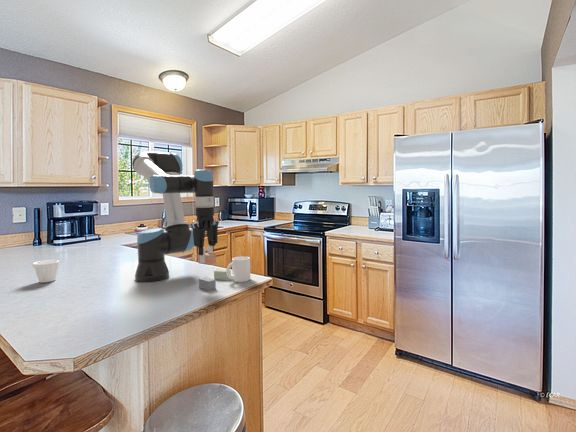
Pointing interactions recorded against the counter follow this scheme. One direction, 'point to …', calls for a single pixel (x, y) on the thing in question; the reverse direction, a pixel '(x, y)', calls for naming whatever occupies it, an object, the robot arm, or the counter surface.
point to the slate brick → (207, 283)
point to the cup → (46, 270)
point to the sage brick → (221, 274)
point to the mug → (239, 269)
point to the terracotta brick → (208, 259)
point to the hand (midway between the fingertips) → (206, 261)
